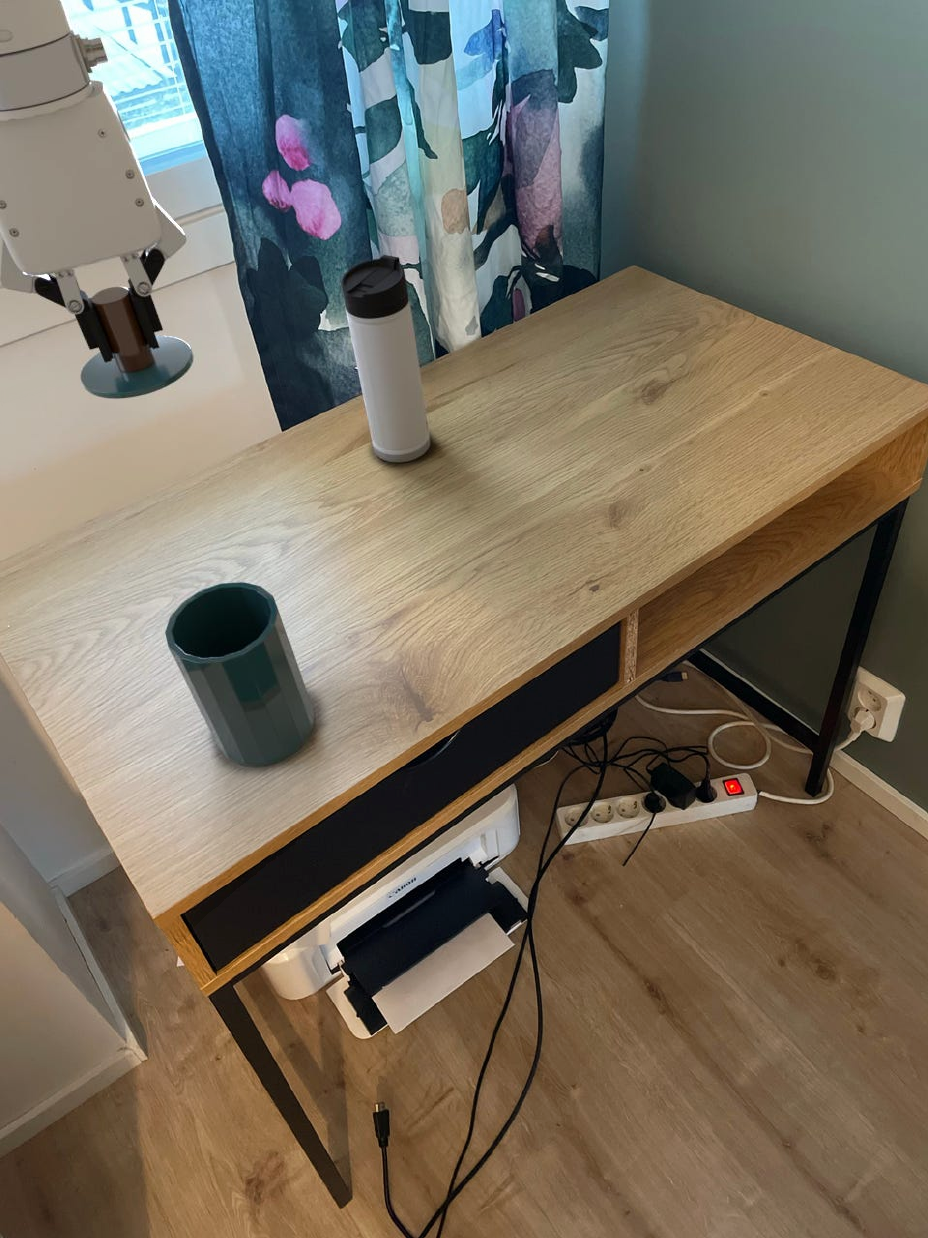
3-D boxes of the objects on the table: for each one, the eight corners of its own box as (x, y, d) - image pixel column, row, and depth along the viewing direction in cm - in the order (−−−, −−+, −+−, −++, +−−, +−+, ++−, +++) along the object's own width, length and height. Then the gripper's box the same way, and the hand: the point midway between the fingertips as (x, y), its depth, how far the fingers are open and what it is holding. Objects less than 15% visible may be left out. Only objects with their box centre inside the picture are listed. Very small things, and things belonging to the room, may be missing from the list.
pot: (227, 781, 70) (175, 678, 61) (209, 708, 75) (158, 604, 66) (326, 744, 71) (288, 638, 62) (300, 675, 76) (263, 569, 68)
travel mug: (443, 436, 99) (419, 259, 85) (409, 469, 96) (378, 289, 81) (397, 423, 102) (366, 249, 88) (363, 455, 98) (325, 278, 84)
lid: (91, 417, 66) (54, 335, 62) (80, 366, 72) (46, 287, 67) (205, 385, 68) (177, 302, 63) (185, 337, 74) (158, 258, 69)
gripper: (145, 37, 60) (224, 300, 73) (-113, 89, 56) (18, 355, 69) (163, 61, 55) (244, 339, 68) (-119, 120, 51) (24, 401, 64)
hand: (129, 345), depth 68 cm, fingers closed on lid, 2 cm apart
